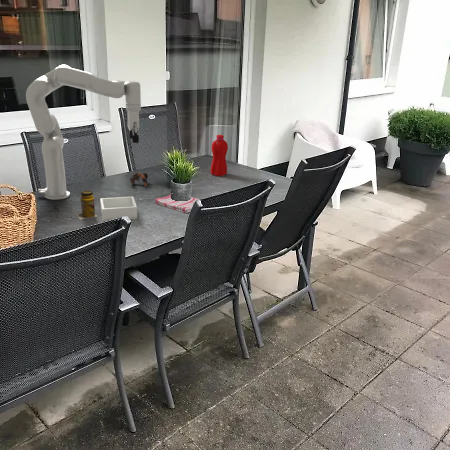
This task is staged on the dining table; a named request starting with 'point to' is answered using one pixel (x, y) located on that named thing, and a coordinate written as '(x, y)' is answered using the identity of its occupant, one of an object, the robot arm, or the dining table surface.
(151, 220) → the dining table surface
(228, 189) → the dining table surface
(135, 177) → the brown jointed arch figure
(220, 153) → the water bottle
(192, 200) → the dish towel
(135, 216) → the bin
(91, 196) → the condiment
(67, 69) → the robot arm
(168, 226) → the dining table surface
